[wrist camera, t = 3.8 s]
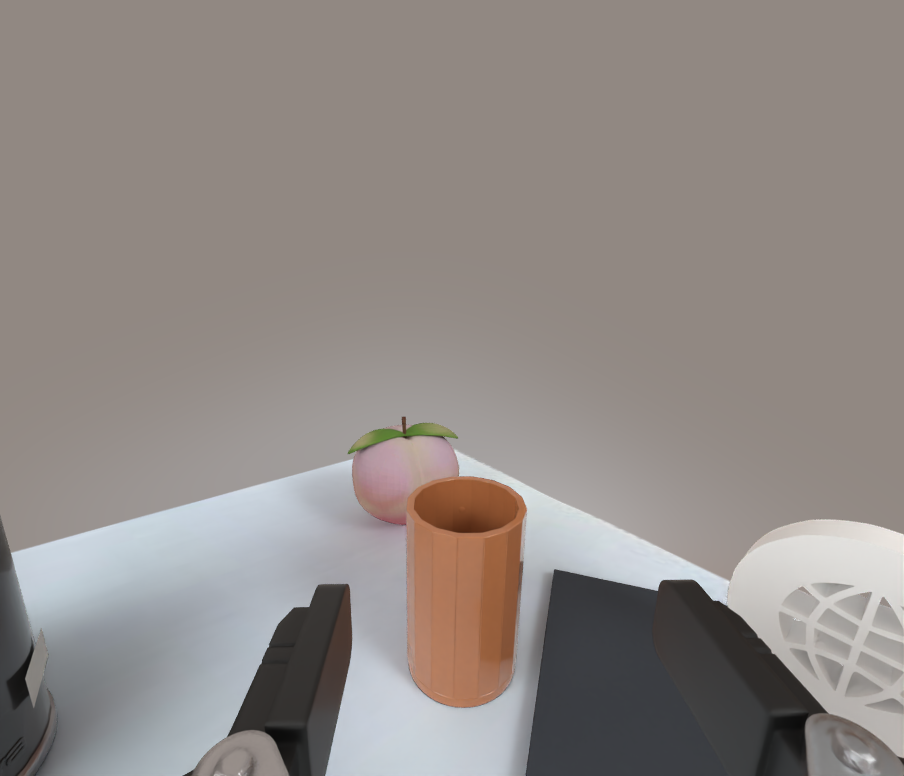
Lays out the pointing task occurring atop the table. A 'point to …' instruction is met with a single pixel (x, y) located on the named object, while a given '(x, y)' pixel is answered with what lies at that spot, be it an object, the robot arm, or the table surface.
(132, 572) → the table surface
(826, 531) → the white twin disc part
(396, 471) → the decorative fruit
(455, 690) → the brown mug
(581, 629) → the mat
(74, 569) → the table surface
